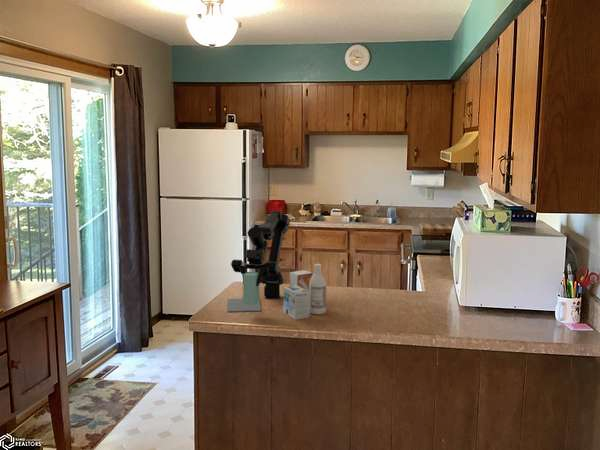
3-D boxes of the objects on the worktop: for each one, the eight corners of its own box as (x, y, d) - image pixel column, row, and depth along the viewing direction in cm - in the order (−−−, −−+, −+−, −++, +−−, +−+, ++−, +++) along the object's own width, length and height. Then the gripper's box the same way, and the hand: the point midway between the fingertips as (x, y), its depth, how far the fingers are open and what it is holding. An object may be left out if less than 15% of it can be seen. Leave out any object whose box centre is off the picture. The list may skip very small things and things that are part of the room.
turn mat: (259, 298, 241) (259, 298, 241) (261, 311, 224) (261, 310, 224) (227, 299, 240) (227, 298, 240) (226, 312, 222) (226, 311, 222)
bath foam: (328, 313, 221) (329, 265, 218) (312, 315, 219) (313, 266, 216) (321, 308, 228) (322, 262, 225) (306, 310, 225) (306, 263, 222)
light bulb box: (282, 312, 222) (283, 287, 221) (297, 310, 226) (297, 285, 224) (295, 320, 213) (295, 293, 212) (310, 317, 216) (310, 291, 215)
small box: (297, 304, 234) (297, 275, 232) (289, 300, 239) (289, 272, 237) (312, 301, 238) (312, 272, 236) (304, 298, 243) (304, 269, 241)
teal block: (247, 300, 219) (247, 271, 218) (259, 301, 218) (259, 272, 217) (243, 304, 215) (243, 274, 213) (255, 305, 214) (255, 275, 212)
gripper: (232, 240, 219) (222, 273, 210) (276, 242, 214) (268, 276, 206) (239, 255, 228) (230, 287, 219) (282, 257, 223) (274, 290, 214)
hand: (250, 285), depth 214 cm, fingers closed on teal block, 5 cm apart
